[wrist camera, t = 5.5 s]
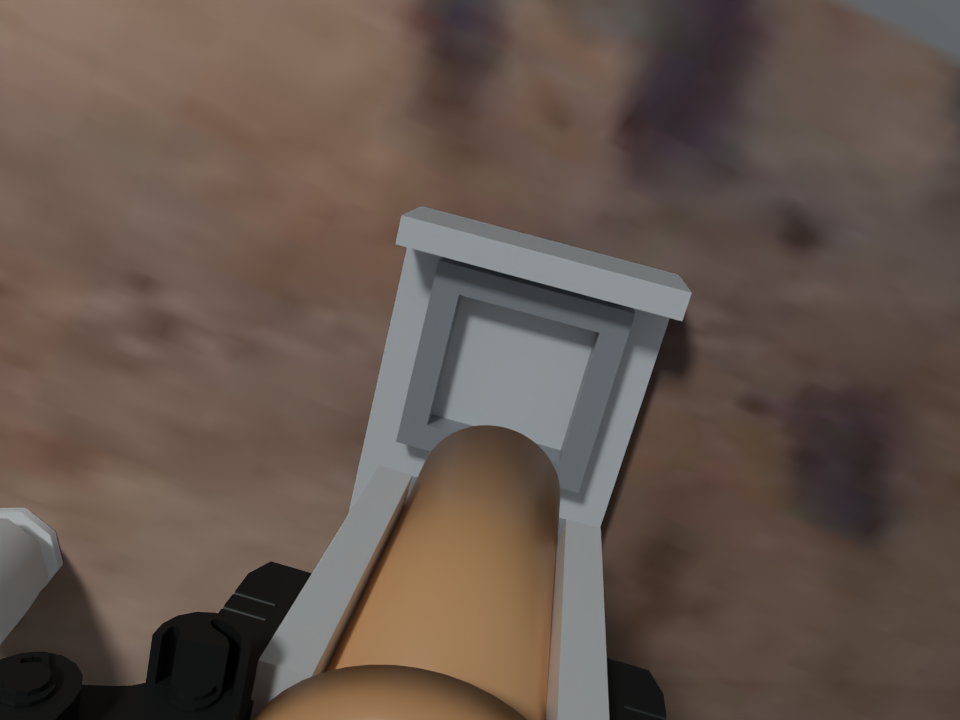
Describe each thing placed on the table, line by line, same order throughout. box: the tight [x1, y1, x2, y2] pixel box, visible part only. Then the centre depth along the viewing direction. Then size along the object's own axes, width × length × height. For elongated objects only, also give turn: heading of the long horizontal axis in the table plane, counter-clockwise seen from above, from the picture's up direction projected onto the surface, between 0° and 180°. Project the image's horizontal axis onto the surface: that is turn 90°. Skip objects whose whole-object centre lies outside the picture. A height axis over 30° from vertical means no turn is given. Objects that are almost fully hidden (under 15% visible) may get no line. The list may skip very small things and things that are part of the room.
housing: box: [348, 206, 692, 546], centre depth 31 cm, size 10×19×4 cm, turn 166°
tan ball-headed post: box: [252, 425, 560, 720], centre depth 15 cm, size 5×5×11 cm
